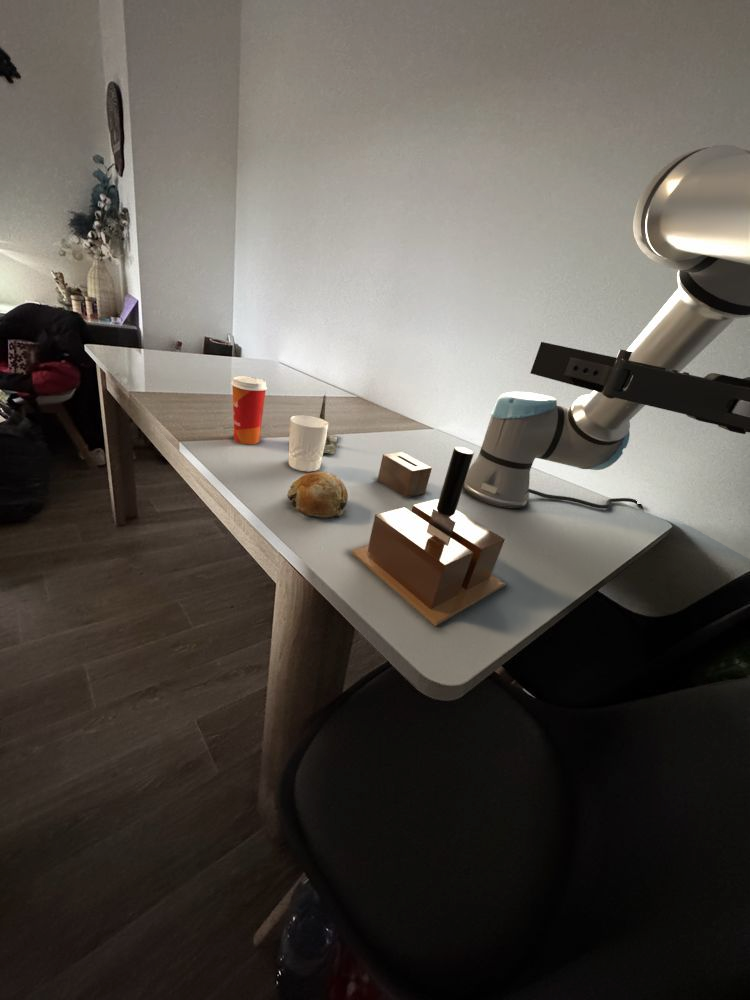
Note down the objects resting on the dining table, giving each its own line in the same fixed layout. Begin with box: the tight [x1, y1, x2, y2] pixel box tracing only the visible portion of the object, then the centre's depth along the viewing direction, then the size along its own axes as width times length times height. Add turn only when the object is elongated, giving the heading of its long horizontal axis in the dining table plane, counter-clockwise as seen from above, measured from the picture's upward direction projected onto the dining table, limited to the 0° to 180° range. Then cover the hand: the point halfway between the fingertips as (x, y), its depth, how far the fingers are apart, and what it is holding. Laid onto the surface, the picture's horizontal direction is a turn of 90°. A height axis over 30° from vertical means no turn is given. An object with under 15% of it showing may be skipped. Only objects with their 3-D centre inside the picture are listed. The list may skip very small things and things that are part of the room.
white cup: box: [288, 414, 330, 473], centre depth 83 cm, size 8×8×10 cm
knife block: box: [377, 451, 433, 499], centre depth 84 cm, size 9×6×6 cm, turn 41°
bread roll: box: [286, 471, 349, 519], centre depth 69 cm, size 10×10×8 cm
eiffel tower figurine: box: [318, 391, 338, 455], centre depth 96 cm, size 15×10×13 cm
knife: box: [429, 446, 475, 537], centre depth 54 cm, size 4×3×19 cm, turn 41°
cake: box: [351, 498, 506, 627], centre depth 57 cm, size 17×16×8 cm
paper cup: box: [230, 375, 268, 445], centre depth 89 cm, size 8×8×14 cm
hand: (568, 362), depth 39 cm, fingers open, 13 cm apart
